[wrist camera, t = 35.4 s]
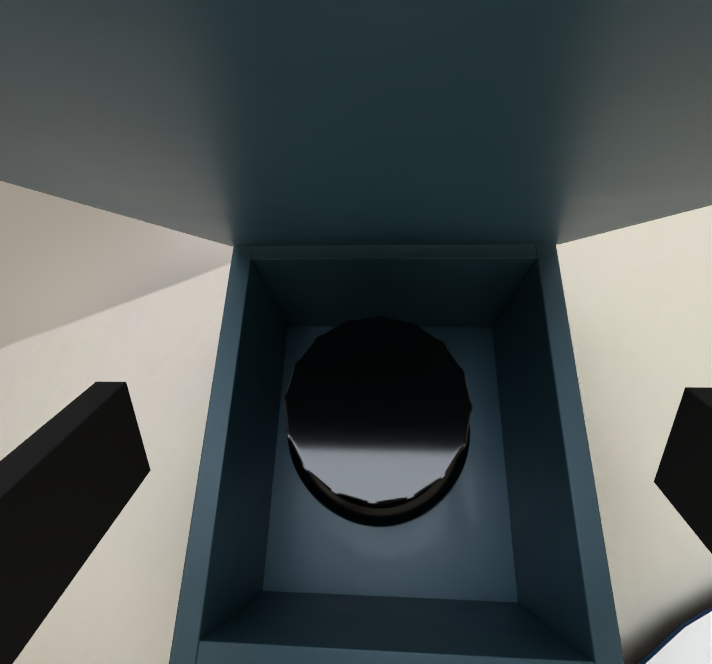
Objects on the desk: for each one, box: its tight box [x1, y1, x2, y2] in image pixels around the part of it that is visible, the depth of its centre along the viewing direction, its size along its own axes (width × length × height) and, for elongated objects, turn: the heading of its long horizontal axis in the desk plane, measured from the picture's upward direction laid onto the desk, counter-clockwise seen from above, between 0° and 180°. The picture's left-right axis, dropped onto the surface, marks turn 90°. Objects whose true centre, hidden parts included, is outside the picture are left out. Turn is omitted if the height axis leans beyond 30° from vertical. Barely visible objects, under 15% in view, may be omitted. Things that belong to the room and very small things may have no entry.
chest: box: [169, 244, 624, 664], centre depth 23 cm, size 18×16×10 cm
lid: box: [0, 0, 712, 246], centre depth 11 cm, size 19×16×9 cm
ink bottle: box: [284, 316, 473, 527], centre depth 21 cm, size 10×9×12 cm
